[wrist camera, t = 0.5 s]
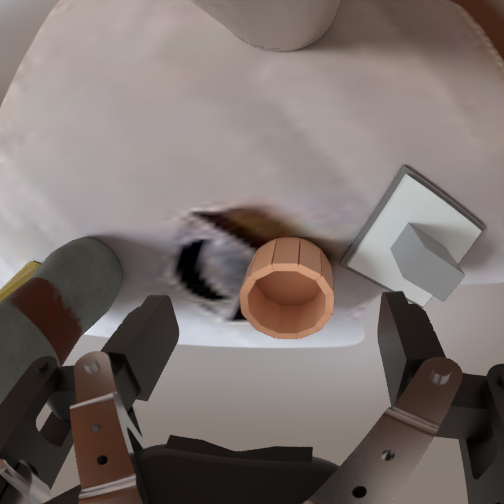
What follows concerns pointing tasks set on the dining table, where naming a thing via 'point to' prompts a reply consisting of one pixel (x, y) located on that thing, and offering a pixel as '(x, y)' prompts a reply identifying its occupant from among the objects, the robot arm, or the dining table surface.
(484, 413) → the robot arm
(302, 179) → the dining table surface
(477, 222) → the mat
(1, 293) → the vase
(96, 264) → the bottle
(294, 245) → the bowl
